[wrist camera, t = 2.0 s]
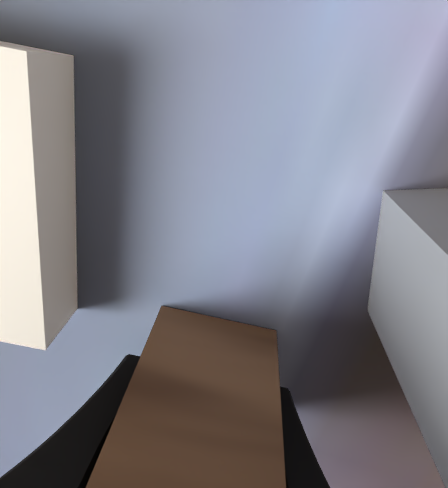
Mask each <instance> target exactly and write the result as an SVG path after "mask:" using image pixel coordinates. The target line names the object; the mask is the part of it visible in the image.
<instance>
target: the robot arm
mask: <svg viewBox="0 0 448 488" xmlns="http://www.w3.org/2000/svg"><path fill="white" fill-rule="evenodd" d="M139 359H140V356H135V355H130V354H129V355H127V356H125V358H124V359H123V360H122V362H121V363H120V364H119V365H118V367H117V368H116V369H115V370H114V372H113V373H112V374H111V375H110V376H109V378H108V379H107V380H106V381H105V382H104V383H103V384H102V386H101V387H100V388H99V389H98V390H97V391H96V392H95V393H94V394H93V395H92V396H91V397H90V398H89V400H88V401H87V402H86V403H85V404H84V405H83V406H82V407H81V408H80V409H79V410H78V411H77V412H76V413H75V414H74V415H73V416H72V417H71V418H70V419H69V420H67V421H66V422H65V423H64V424H63V425H62V426H61V427H60V428H59V429H58V430H57V431H56V432H55V433H54V434H53V435H52V436H50V437H49V438H48V439H47V440H46V441H45V442H44V443H42V444H41V445H40V446H39V447H38V448H37V449H35V450H34V451H33V452H32V453H31V454H30V455H28V456H27V457H26V458H25V459H23V460H22V461H21V462H20V463H18V464H17V465H16V466H15V467H13V468H12V469H11V470H10V471H8V472H7V473H6V474H4V475H3V476H2V477H1V478H0V488H86V486H87V483H88V481H89V479H90V476H91V474H92V471H93V469H94V467H95V464H96V462H97V459H98V457H99V455H100V452H101V450H102V447H103V445H104V443H105V440H106V438H107V435H108V433H109V431H110V428H111V426H112V423H113V421H114V419H115V416H116V414H117V411H118V409H119V407H120V404H121V402H122V400H123V397H124V395H125V392H126V390H127V388H128V385H129V383H130V380H131V378H132V376H133V373H134V371H135V368H136V366H137V364H138V361H139ZM280 396H281V413H282V429H283V446H284V462H285V479H286V488H330V486H329V484H328V482H327V480H326V478H325V476H324V474H323V472H322V470H321V468H320V466H319V464H318V462H317V459H316V457H315V455H314V452H313V450H312V448H311V446H310V443H309V441H308V439H307V436H306V434H305V431H304V429H303V426H302V424H301V421H300V419H299V416H298V413H297V411H296V408H295V405H294V402H293V399H292V396H291V393H290V391H289V390H288V388H284V387H280Z"/></svg>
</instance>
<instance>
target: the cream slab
mask: <svg viewBox="0 0 448 488" xmlns="http://www.w3.org/2000/svg"><path fill="white" fill-rule="evenodd" d="M77 309H78V308H77V242H76V176H75V110H74V55H69V54H64V53H59V52H54V51H49V50H44V49H39V48H34V47H29V46H24V45H18V44H13V43H8V42H3V41H0V341H1V342H6V343H12V344H17V345H22V346H27V347H32V348H37V349H42V350H46V349H47V348H48V347H49V345H50V344H51V343H52V341H53V340H54V339H55V337H56V336H57V335H58V334H59V332H60V331H61V330H62V328H63V327H64V326H65V324H66V323H67V322H68V320H69V319H70V318H71V316H72V315H73V314H74V313H75V311H76V310H77Z"/></svg>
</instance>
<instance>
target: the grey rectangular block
mask: <svg viewBox="0 0 448 488" xmlns="http://www.w3.org/2000/svg"><path fill="white" fill-rule="evenodd" d="M367 311H368V313H369V315H370V317H371V320H372V322H373V324H374V326H375V329H376V331H377V333H378V336H379V338H380V340H381V342H382V345H383V347H384V349H385V351H386V354H387V356H388V358H389V361H390V363H391V365H392V367H393V370H394V372H395V374H396V376H397V379H398V381H399V383H400V386H401V388H402V390H403V392H404V395H405V397H406V399H407V401H408V404H409V406H410V408H411V411H412V413H413V415H414V417H415V420H416V422H417V424H418V426H419V429H420V431H421V433H422V436H423V438H424V440H425V442H426V445H427V447H428V449H429V451H430V454H431V456H432V458H433V461H434V463H435V465H436V467H437V470H438V472H439V474H440V476H441V479H442V481H443V483H444V486H445V488H448V188H437V189H410V190H383V194H382V202H381V210H380V217H379V225H378V233H377V240H376V248H375V255H374V263H373V271H372V278H371V286H370V294H369V301H368V309H367Z"/></svg>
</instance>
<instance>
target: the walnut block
mask: <svg viewBox="0 0 448 488" xmlns="http://www.w3.org/2000/svg"><path fill="white" fill-rule="evenodd" d="M86 488H286V479H285V462H284V446H283V429H282V413H281V396H280V380H279V363H278V347H277V331H276V330H272V329H267V328H263V327H258V326H253V325H249V324H244V323H239V322H235V321H230V320H225V319H221V318H216V317H212V316H207V315H202V314H198V313H193V312H188V311H184V310H179V309H175V308H170V307H165V306H161V308H160V311H159V313H158V316H157V318H156V320H155V323H154V325H153V328H152V330H151V332H150V335H149V337H148V340H147V342H146V344H145V347H144V349H143V352H142V354H141V356H140V359H139V361H138V364H137V366H136V368H135V371H134V373H133V376H132V378H131V380H130V383H129V385H128V388H127V390H126V392H125V395H124V397H123V400H122V402H121V404H120V407H119V409H118V411H117V414H116V416H115V419H114V421H113V423H112V426H111V428H110V431H109V433H108V435H107V438H106V440H105V443H104V445H103V447H102V450H101V452H100V455H99V457H98V459H97V462H96V464H95V467H94V469H93V471H92V474H91V476H90V479H89V481H88V483H87V486H86Z"/></svg>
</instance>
